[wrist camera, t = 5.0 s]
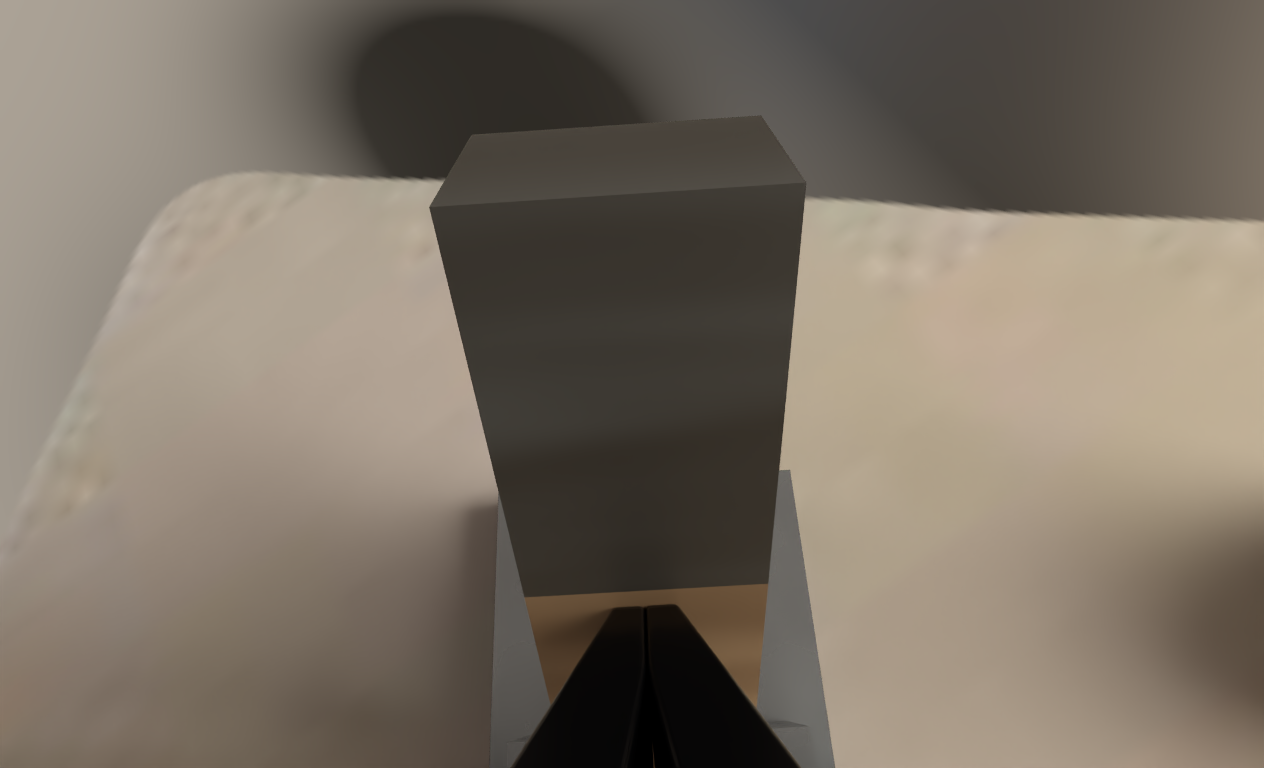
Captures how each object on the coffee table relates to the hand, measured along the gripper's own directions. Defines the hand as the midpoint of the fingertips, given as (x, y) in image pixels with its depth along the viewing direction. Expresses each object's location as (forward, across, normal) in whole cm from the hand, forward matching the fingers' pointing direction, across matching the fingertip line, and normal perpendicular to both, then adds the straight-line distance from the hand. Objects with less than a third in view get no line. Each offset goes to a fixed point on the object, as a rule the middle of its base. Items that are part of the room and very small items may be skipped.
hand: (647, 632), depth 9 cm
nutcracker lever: (+3, 0, +7) cm, 7 cm away
